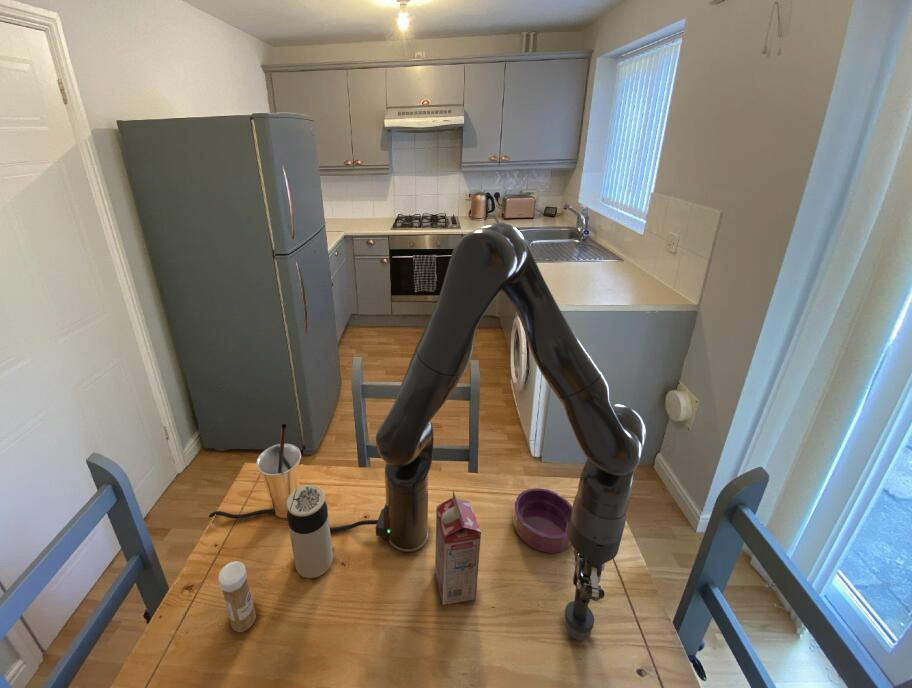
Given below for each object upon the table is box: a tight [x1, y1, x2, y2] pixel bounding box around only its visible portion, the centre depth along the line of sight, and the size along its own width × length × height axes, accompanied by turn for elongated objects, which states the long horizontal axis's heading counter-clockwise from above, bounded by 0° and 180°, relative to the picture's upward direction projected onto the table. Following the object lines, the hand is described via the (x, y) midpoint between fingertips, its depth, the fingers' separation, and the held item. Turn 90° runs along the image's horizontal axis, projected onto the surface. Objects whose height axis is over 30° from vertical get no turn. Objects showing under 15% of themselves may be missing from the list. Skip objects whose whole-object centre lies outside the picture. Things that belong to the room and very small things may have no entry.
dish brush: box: [564, 578, 595, 642], centre depth 74 cm, size 5×5×15 cm
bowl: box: [512, 487, 573, 554], centre depth 96 cm, size 13×13×5 cm
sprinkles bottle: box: [217, 560, 257, 633], centre depth 77 cm, size 5×5×14 cm
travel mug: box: [286, 484, 334, 579], centre depth 87 cm, size 8×8×18 cm
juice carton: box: [434, 490, 482, 606], centre depth 81 cm, size 7×7×22 cm
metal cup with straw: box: [256, 423, 302, 519], centre depth 97 cm, size 11×11×30 cm
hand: (580, 592), depth 73 cm, fingers closed on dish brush
